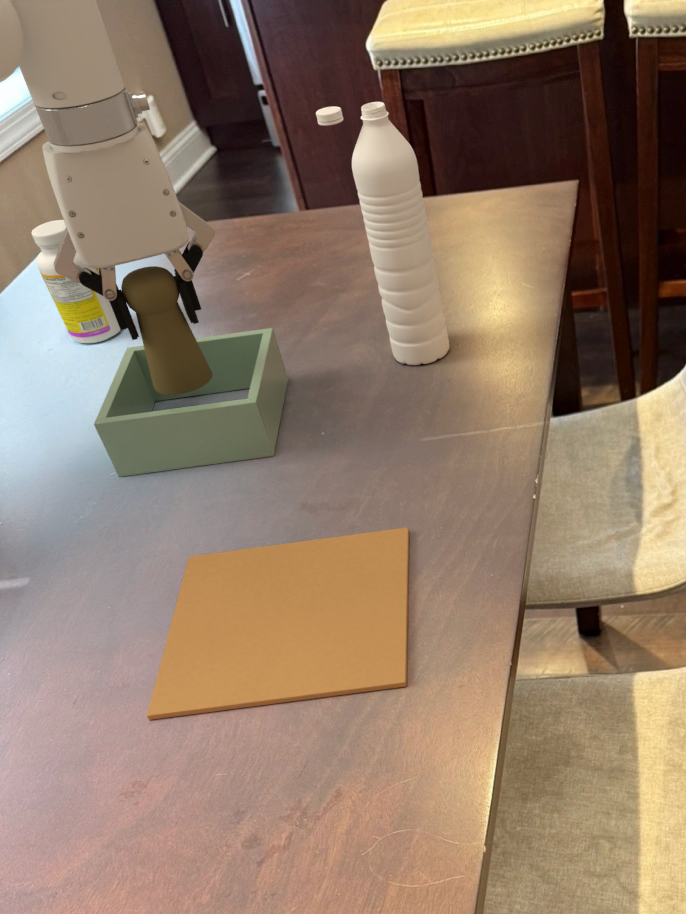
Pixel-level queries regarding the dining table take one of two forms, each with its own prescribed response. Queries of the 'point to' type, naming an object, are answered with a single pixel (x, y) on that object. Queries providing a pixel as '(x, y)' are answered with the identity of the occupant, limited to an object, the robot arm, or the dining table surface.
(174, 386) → the pepper shaker
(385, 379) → the dining table surface
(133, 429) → the open box
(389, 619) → the mat
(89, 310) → the supplement bottle
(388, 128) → the bottle and cap
